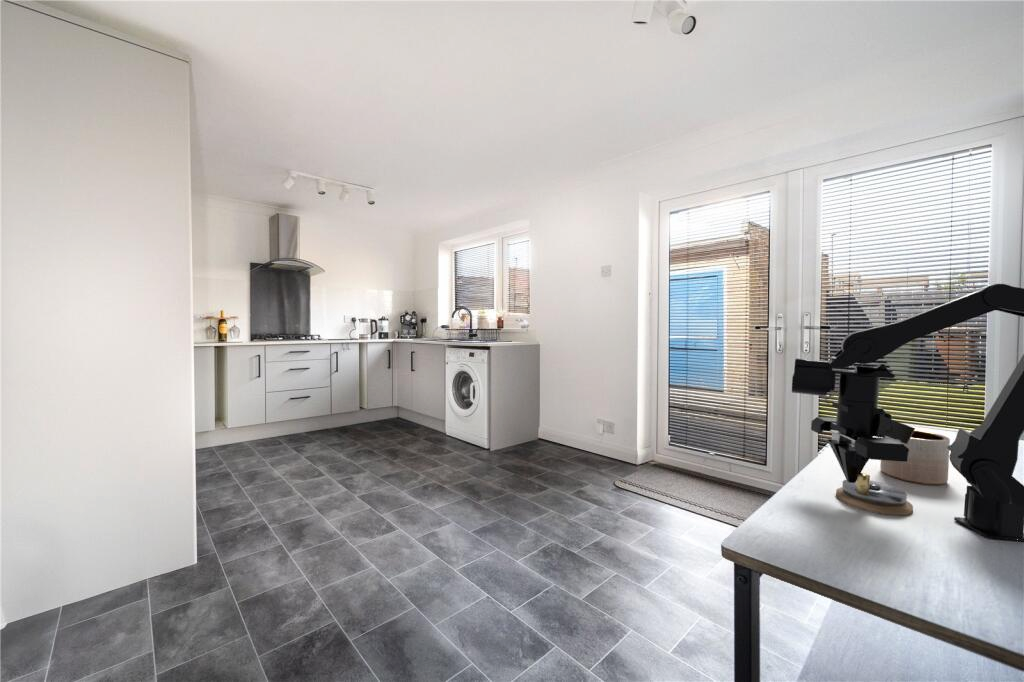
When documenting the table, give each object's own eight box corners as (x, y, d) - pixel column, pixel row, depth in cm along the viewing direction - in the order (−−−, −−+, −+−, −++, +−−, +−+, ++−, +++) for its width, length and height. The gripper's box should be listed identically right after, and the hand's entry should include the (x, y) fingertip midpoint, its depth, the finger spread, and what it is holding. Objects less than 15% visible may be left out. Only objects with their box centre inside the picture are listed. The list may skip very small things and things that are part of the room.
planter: (918, 469, 100) (921, 428, 99) (962, 487, 89) (965, 441, 88) (868, 467, 101) (870, 426, 100) (905, 485, 90) (908, 439, 89)
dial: (882, 487, 85) (884, 463, 84) (920, 507, 76) (922, 480, 75) (830, 484, 86) (832, 460, 86) (861, 504, 77) (863, 477, 77)
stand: (929, 518, 74) (930, 507, 74) (858, 512, 76) (859, 502, 76) (884, 492, 86) (885, 483, 85) (823, 488, 87) (824, 479, 87)
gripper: (950, 413, 69) (941, 508, 70) (872, 392, 87) (866, 467, 88) (872, 409, 71) (865, 502, 72) (812, 389, 89) (807, 463, 90)
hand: (851, 482), depth 80 cm, fingers closed
